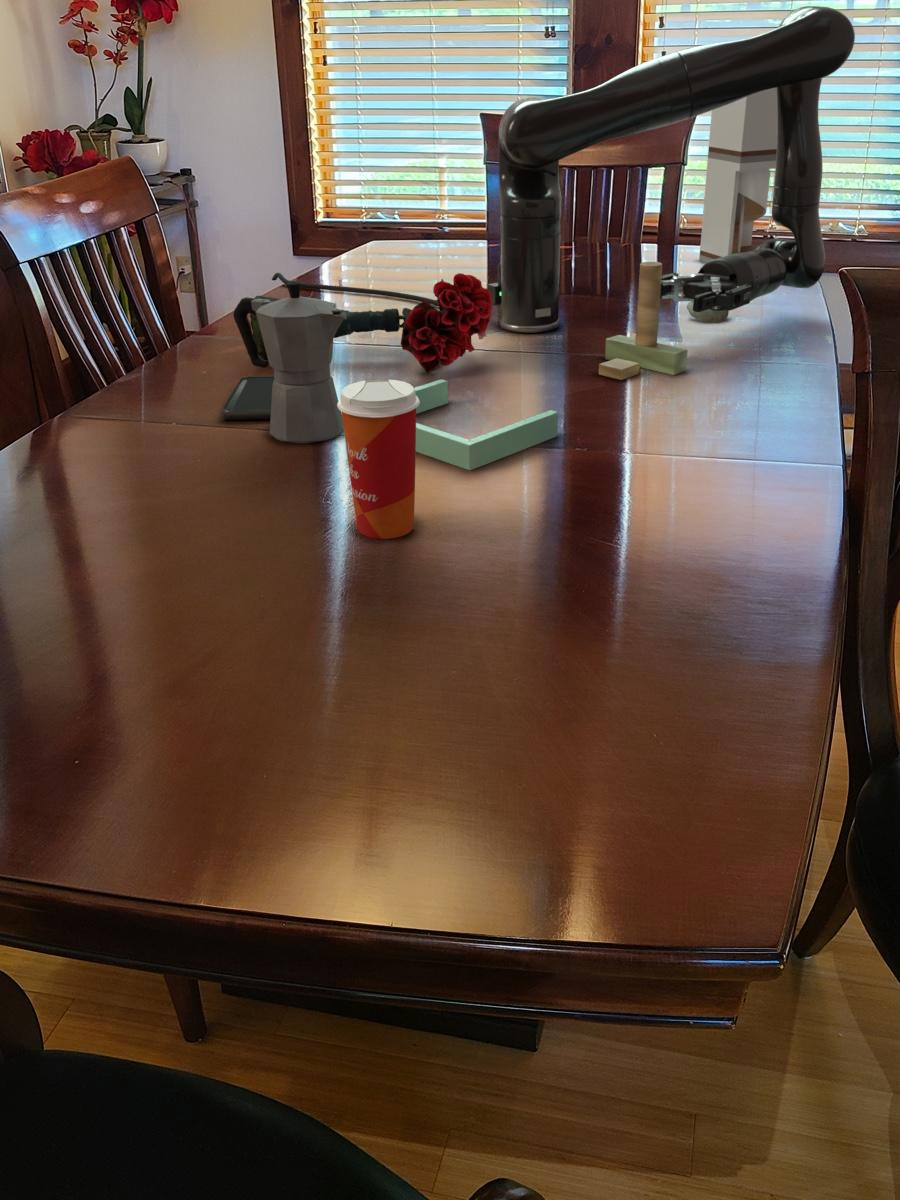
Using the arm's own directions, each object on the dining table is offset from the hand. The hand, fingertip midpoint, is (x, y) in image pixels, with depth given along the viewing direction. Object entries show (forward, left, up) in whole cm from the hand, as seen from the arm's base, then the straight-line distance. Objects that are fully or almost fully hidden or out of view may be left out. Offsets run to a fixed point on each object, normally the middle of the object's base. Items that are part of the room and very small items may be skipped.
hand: (670, 300), depth 152 cm
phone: (-17, -56, -8) cm, 59 cm away
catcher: (+8, -42, -8) cm, 43 cm away
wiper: (+1, -5, -8) cm, 10 cm away
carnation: (-24, -35, -8) cm, 43 cm away
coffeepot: (-4, -57, -8) cm, 58 cm away
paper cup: (+27, -63, -8) cm, 69 cm away
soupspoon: (-19, +25, -8) cm, 33 cm away
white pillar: (-40, +57, -8) cm, 70 cm away
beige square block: (+2, -11, -8) cm, 14 cm away
